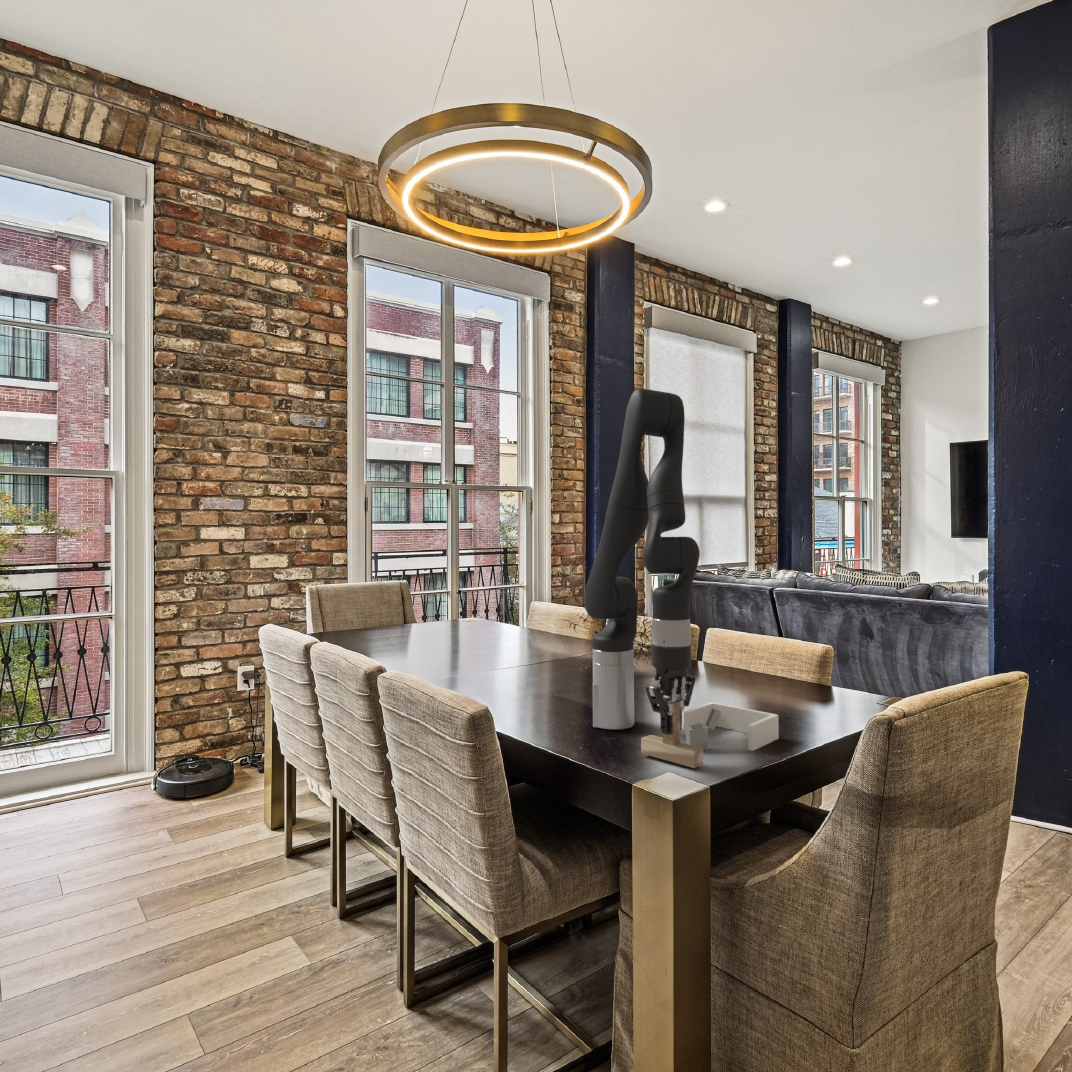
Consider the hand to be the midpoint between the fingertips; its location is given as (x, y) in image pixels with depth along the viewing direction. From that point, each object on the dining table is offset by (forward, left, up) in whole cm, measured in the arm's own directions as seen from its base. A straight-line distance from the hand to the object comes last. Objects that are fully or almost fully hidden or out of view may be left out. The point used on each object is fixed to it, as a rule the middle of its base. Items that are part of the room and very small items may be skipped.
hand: (671, 731), depth 139 cm
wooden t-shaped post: (0, 0, -5) cm, 5 cm away
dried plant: (-9, +72, -6) cm, 73 cm away
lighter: (+7, +9, -6) cm, 13 cm away
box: (+13, +16, -6) cm, 22 cm away
